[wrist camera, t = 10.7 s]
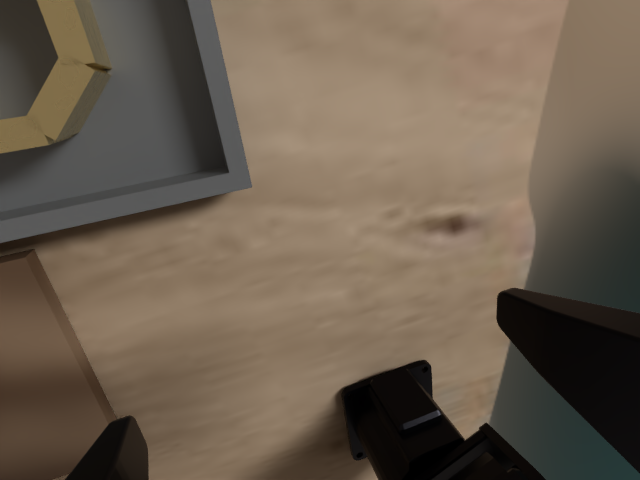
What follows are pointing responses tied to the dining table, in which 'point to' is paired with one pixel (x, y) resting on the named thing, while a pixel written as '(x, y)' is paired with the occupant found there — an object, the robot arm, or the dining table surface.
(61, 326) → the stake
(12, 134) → the ring
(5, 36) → the tray
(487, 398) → the dining table surface
